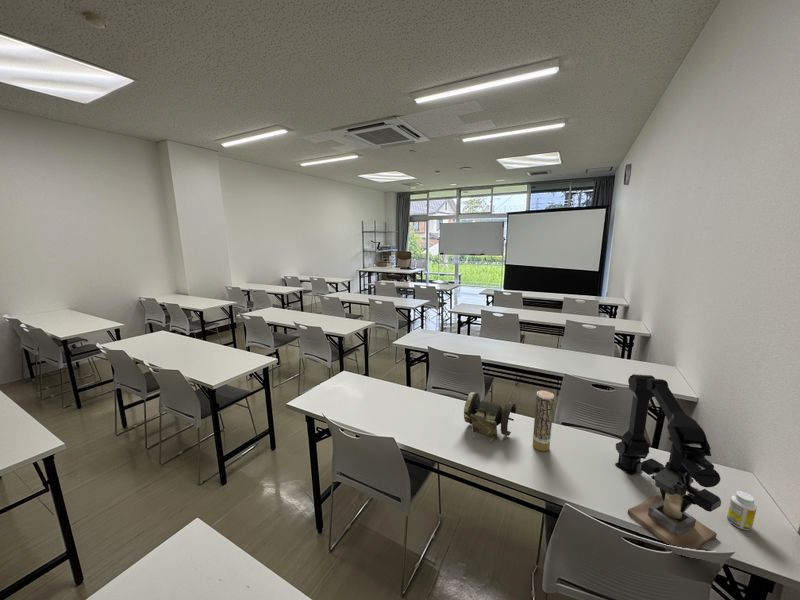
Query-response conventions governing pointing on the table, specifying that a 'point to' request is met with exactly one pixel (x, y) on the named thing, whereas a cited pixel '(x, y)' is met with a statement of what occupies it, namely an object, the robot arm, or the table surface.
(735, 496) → the supplement bottle
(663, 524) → the collar socket
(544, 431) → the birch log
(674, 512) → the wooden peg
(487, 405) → the bench grinder
